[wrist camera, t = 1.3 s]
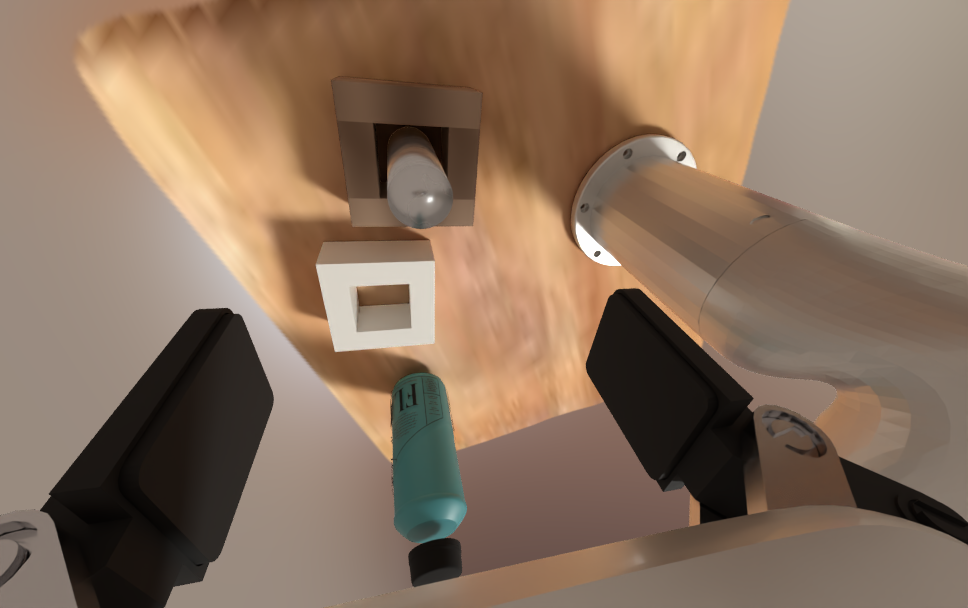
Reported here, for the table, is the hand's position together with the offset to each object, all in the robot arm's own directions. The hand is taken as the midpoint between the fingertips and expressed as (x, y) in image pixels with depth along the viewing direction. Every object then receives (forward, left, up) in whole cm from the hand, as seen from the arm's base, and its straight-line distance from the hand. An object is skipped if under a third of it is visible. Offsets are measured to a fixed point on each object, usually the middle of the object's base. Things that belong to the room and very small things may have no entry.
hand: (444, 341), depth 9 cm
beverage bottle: (0, +26, -22) cm, 34 cm away
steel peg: (0, 0, -22) cm, 22 cm away
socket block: (0, 0, -22) cm, 22 cm away
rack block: (+3, +12, -22) cm, 25 cm away
